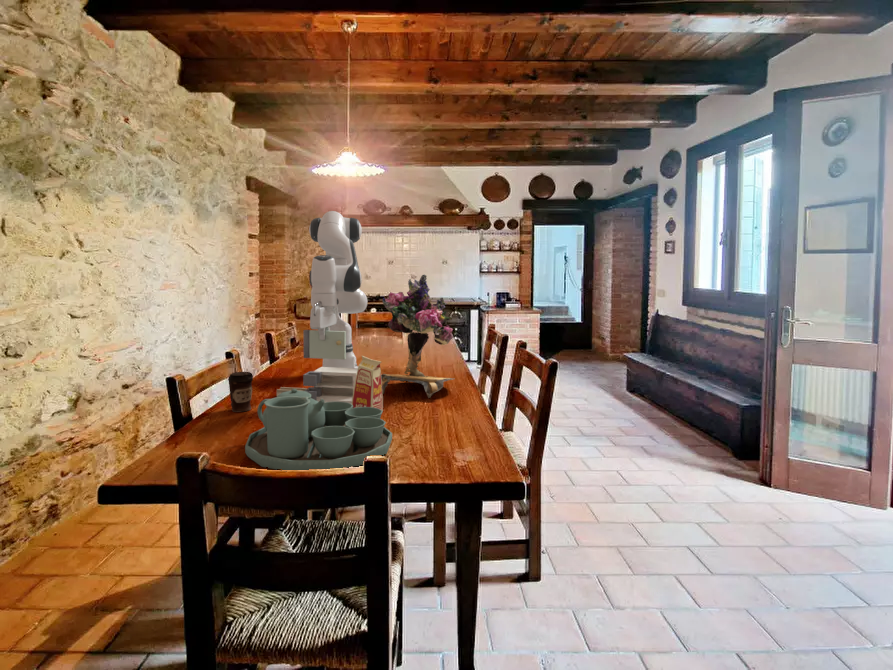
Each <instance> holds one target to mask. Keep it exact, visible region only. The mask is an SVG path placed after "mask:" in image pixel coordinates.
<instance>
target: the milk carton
mask: <svg viewBox="0 0 893 670" xmlns="http://www.w3.org/2000/svg"><path fill="white" fill-rule="evenodd" d="M361 358H362V359H361V361H360V362H359V364H358V365H357V366H358V370H357V375H356V379H355V384H354V390H353V396H352V405H353V408H355V407H374V408H378V409H380V410H382V411H384V409H383V408H384V396H383V394H382V379H381V375H382V373H381V372H382V371H381V363H382V361H381V360H376V359H371V358H369V357H367V356H364V355H361Z"/></svg>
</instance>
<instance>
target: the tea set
mask: <svg viewBox="0 0 893 670" xmlns="http://www.w3.org/2000/svg"><path fill="white" fill-rule="evenodd" d="M324 402H325V401H324V400H323V399H321V400H320V401H319V402H318V401H316V400H314V399H312V398H311V394H310V393H308V392H306V391H297V389H292V390H291V391H286V392H282V393H281V394H279V395H278V396H277V395H276V397H273V398H265V399H263V400H262V401H260V402H259V404H258V406H257V417H258V418H259V420H260V421H261V423H262V425H263V427H262V428H260V429H257V430H256V431H254V432H252V433H250V434H249V436H248V437H247V438H248V439H246V440H247V441H246V443H245V445H244V450H245V454H246V457H248V458H249V459H250V460H251V461H253V462H255V463H256V464H257V465H258V466H260V467H262V468H266V467H268V469H271V470H272V469H273V470H277V469H282V470H309V469H330V468H343V467H351V466H358V467H361V466H360V465H362V464H363V461H364V458H365V457H366V456H370V455H383V456H382V457H384V456H385V455H384V454H386V455H387V454H388V452H389V449H390V446H391V443H392V440H393V432H391V431H390V430H389V429H388V428H387V427H385V425H386V423H387V422H386V421H385V420H383V419H382V418H381V416H382V414H383V411H384V410H383V411H382V410H380V409H378V408H374V407H355V408H353V405H352V404H351V403H347V402H337V401H336V402H326V403H324ZM264 405H265V408H264V410H263V406H264ZM262 410H263V411H262ZM362 466H363V465H362ZM282 470H281V471H282Z"/></svg>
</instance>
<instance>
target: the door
mask: <svg viewBox="0 0 893 670" xmlns="http://www.w3.org/2000/svg"><path fill="white" fill-rule="evenodd" d="M302 334H303V335H302V336H303V359H321V360H323V359H346V331H325V335H326V339H325V340H320V335H319V332H318V329H304V330H303V333H302Z"/></svg>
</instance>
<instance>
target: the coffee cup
mask: <svg viewBox="0 0 893 670" xmlns="http://www.w3.org/2000/svg"><path fill="white" fill-rule="evenodd" d="M253 379H254V374H253V373H252V372H251V371H236V372H232V373H230V374H229V376H228V378H227V381H228V388H229V397H230V402H231V403H230V406H231V410H232V412H233V413H234V412H235V413H238V412H239V413H240V412H247V411H251V409H252V405H251V404H252V403H251V401H252V396H253V385H252V384H253V383H252V382H253Z"/></svg>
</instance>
